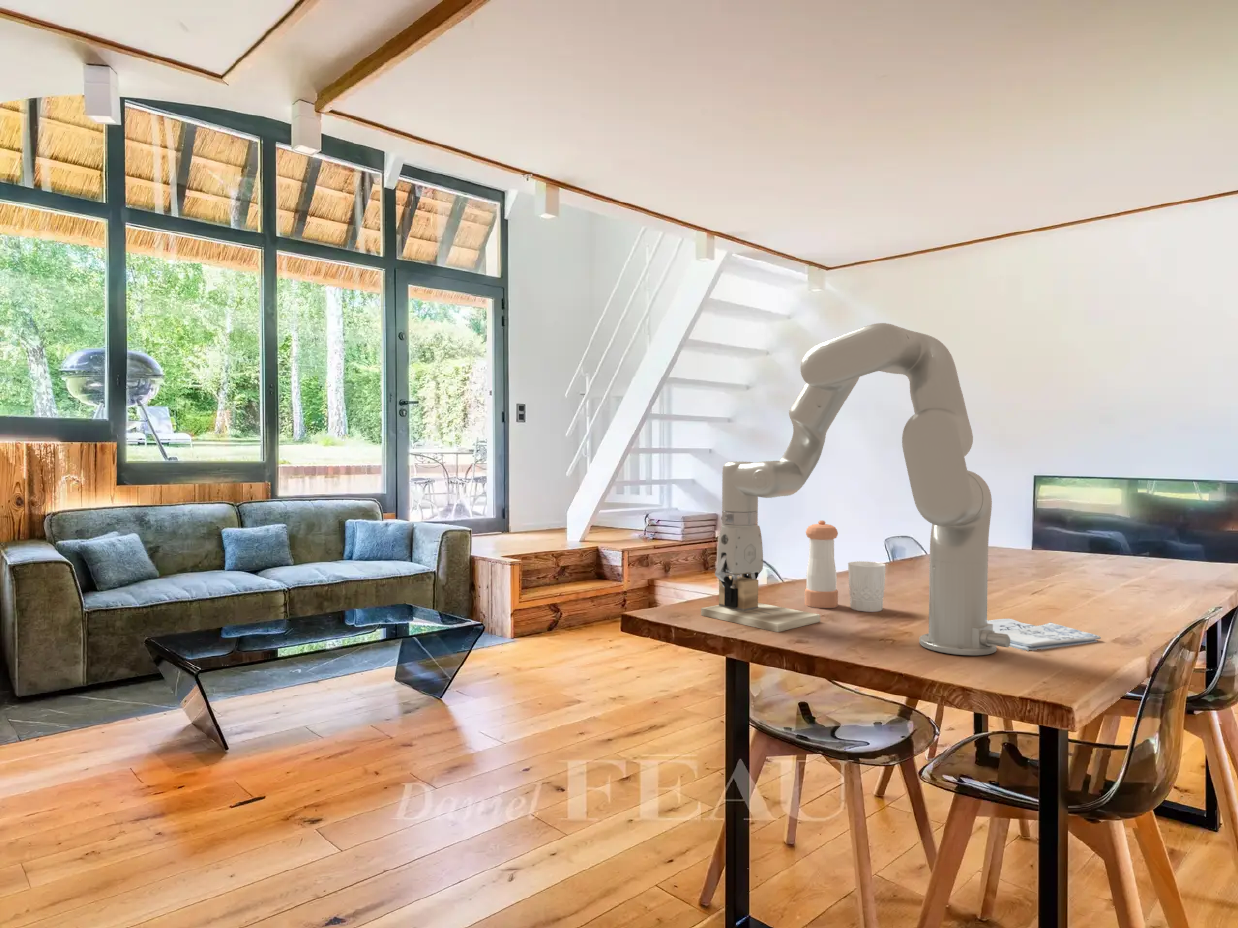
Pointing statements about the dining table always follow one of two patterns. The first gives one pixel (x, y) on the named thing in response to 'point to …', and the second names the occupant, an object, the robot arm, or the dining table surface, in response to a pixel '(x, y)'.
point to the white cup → (866, 585)
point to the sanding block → (742, 593)
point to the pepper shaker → (821, 567)
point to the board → (763, 617)
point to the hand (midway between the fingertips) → (739, 604)
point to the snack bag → (1040, 635)
